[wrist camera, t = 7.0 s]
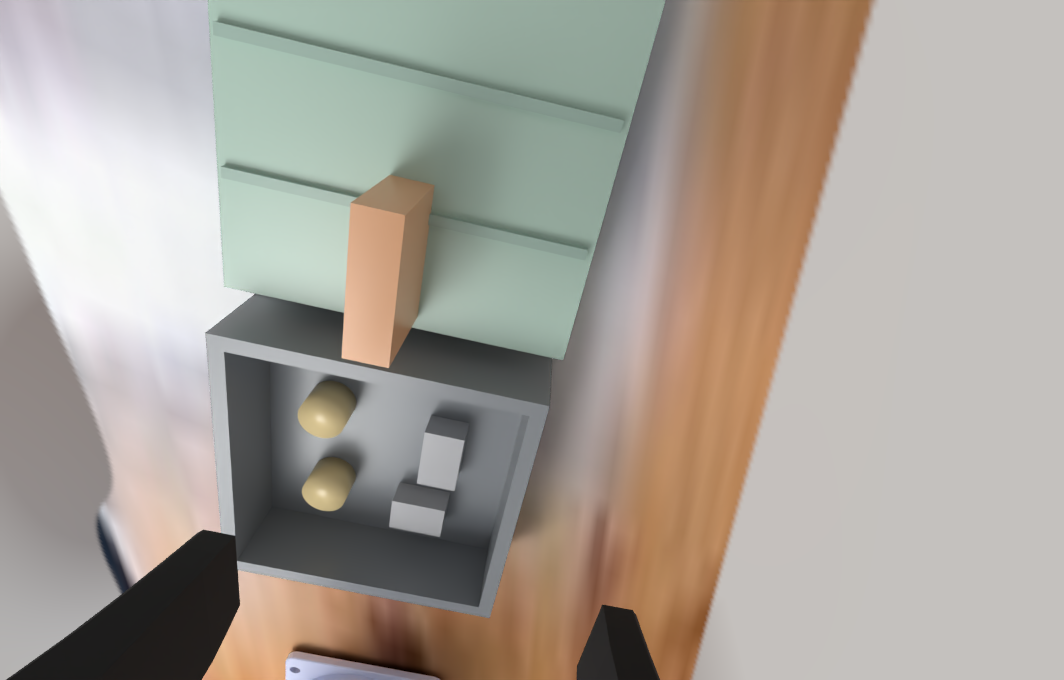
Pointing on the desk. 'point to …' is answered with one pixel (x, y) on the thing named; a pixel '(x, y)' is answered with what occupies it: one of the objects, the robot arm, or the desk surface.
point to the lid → (423, 158)
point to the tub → (371, 455)
